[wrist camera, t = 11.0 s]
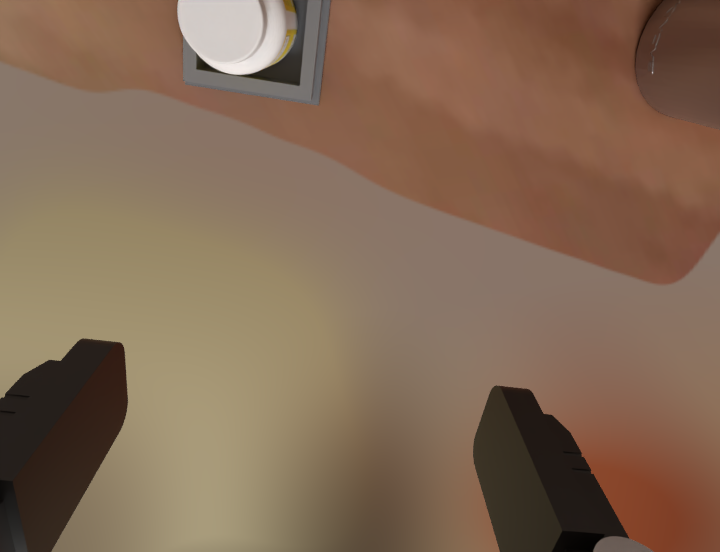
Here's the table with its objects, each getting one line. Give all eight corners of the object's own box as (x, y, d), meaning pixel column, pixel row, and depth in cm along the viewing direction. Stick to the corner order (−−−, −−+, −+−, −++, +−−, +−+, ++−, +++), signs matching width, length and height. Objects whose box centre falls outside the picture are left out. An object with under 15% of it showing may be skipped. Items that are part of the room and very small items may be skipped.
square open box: (336, -46, 31) (334, -54, 28) (319, 103, 35) (316, 109, 32) (190, -73, 30) (174, -84, 27) (189, 83, 34) (175, 87, 31)
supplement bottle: (210, -32, 30) (154, -58, 21) (299, -25, 31) (279, -48, 22) (216, 64, 33) (167, 76, 24) (298, 69, 33) (280, 83, 24)
